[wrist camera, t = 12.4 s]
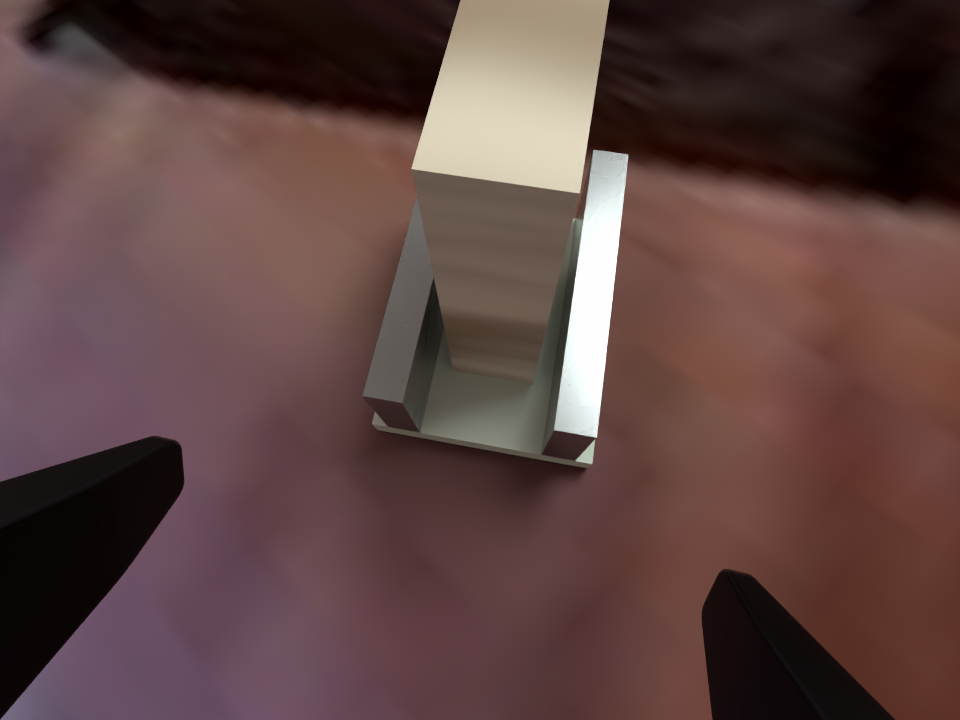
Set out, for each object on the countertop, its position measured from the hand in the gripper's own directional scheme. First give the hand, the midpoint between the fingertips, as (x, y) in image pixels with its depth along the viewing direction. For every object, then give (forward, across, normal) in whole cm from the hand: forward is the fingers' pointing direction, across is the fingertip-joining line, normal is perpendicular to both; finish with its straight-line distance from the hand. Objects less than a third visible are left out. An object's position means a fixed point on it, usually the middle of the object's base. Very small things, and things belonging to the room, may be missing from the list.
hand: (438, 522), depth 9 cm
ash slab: (+13, 0, +1) cm, 13 cm away
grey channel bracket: (+13, 0, +2) cm, 13 cm away
